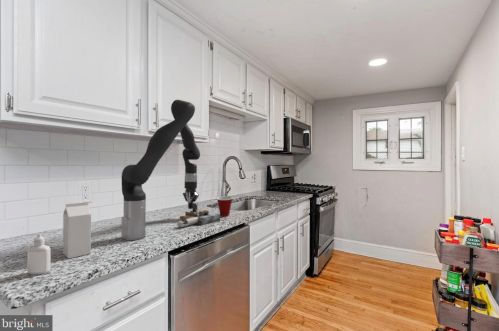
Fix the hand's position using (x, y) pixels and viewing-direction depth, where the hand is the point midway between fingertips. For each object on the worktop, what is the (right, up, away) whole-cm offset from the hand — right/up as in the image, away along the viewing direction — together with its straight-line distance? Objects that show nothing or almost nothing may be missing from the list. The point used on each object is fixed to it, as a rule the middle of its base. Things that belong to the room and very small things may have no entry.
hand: (190, 208), depth 156 cm
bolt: (+6, -4, -4) cm, 8 cm away
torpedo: (+4, -6, -17) cm, 18 cm away
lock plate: (+7, -6, -5) cm, 11 cm away
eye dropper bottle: (-29, -7, -78) cm, 83 cm away
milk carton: (-28, -7, -62) cm, 68 cm away
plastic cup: (+20, -6, +10) cm, 23 cm away
